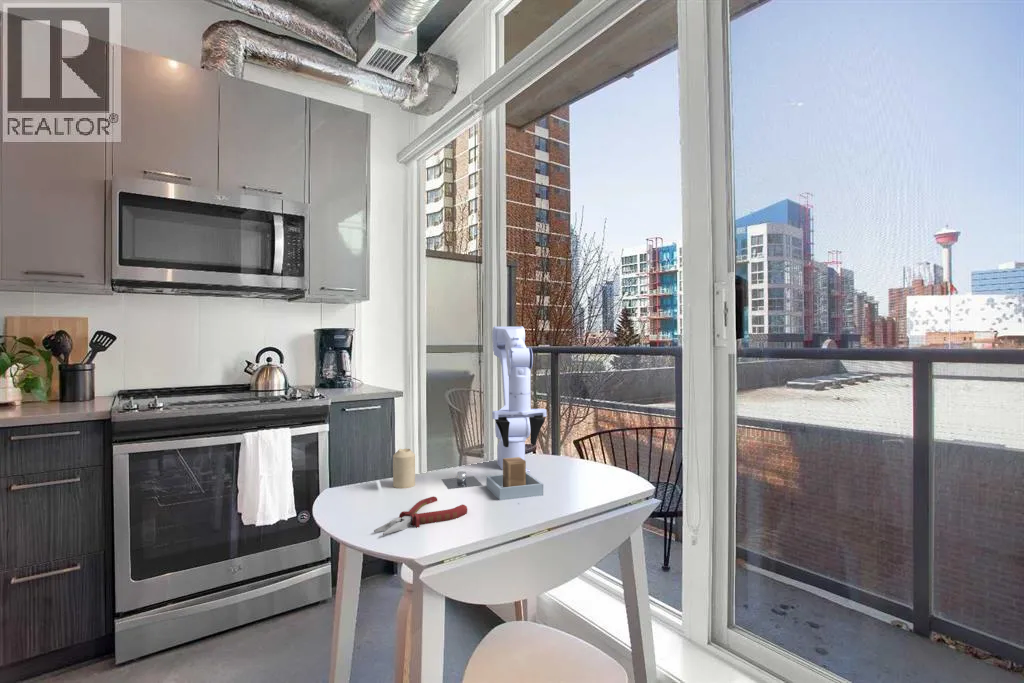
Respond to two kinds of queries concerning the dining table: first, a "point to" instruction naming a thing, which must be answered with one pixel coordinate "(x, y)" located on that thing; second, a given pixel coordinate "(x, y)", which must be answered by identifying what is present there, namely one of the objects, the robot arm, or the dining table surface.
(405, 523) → the pliers
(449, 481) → the base
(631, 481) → the dining table surface
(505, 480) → the brown block
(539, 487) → the bin
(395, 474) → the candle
